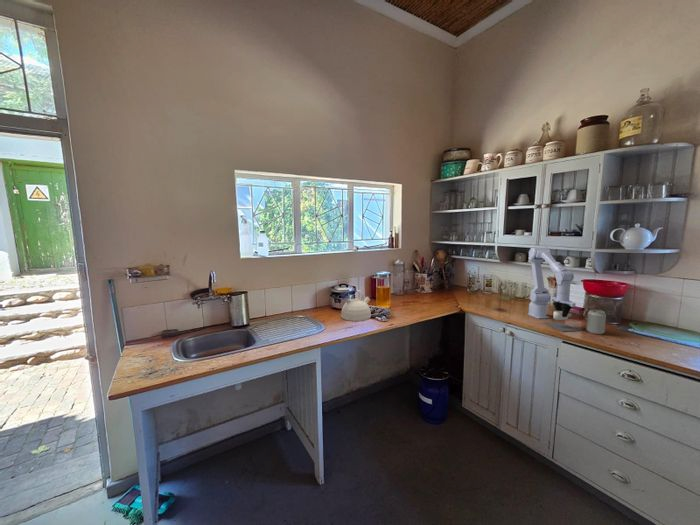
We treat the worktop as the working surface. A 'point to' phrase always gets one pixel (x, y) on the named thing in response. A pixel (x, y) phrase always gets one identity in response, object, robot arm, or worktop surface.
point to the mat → (561, 326)
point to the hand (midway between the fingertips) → (561, 315)
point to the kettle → (356, 308)
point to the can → (596, 321)
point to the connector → (560, 315)
